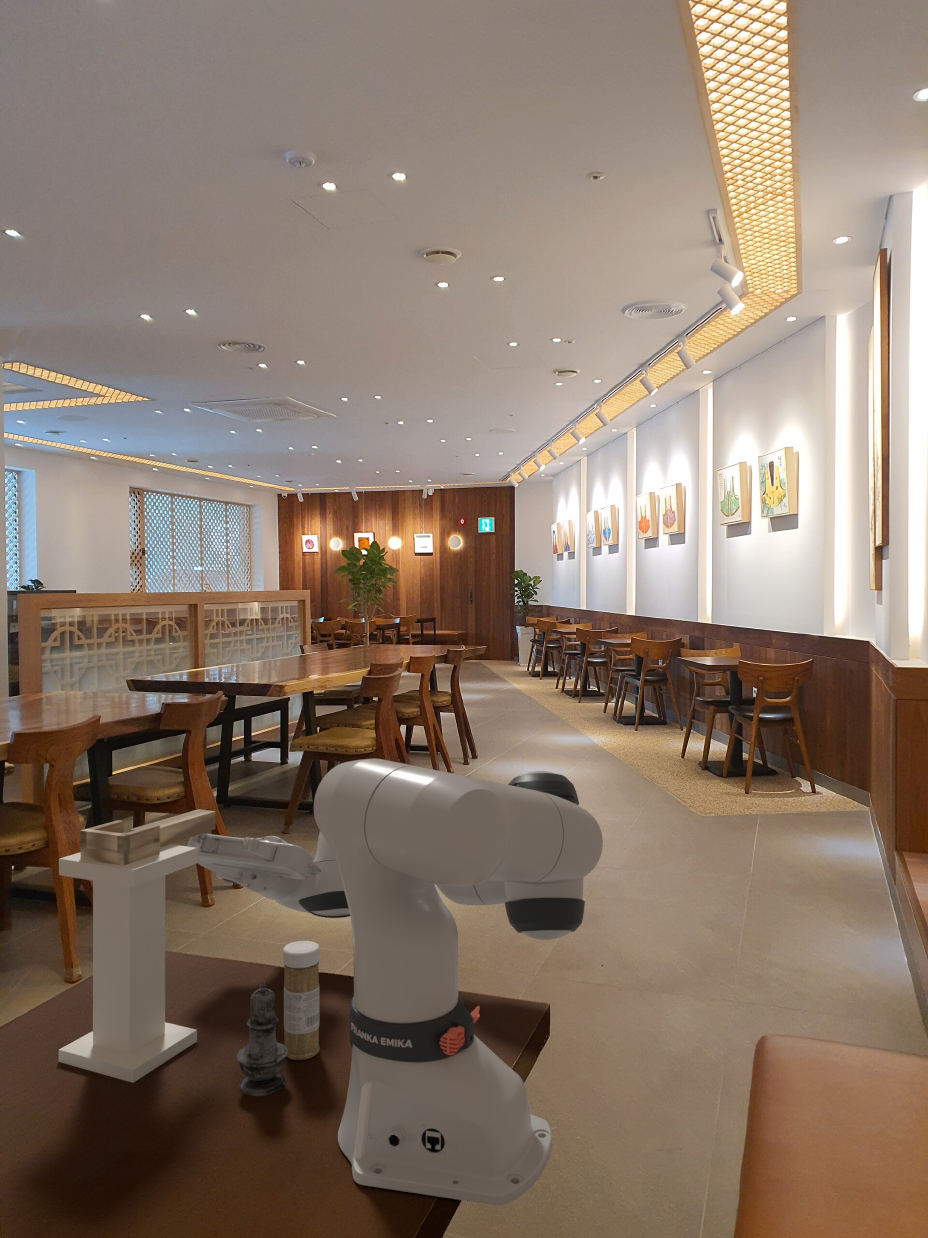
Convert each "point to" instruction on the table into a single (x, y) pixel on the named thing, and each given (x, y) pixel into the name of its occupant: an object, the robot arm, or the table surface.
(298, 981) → the sprinkles bottle
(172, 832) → the scoop
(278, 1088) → the dark tall tiered piece
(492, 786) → the robot arm
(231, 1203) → the table surface
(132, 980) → the pedestal shelf
